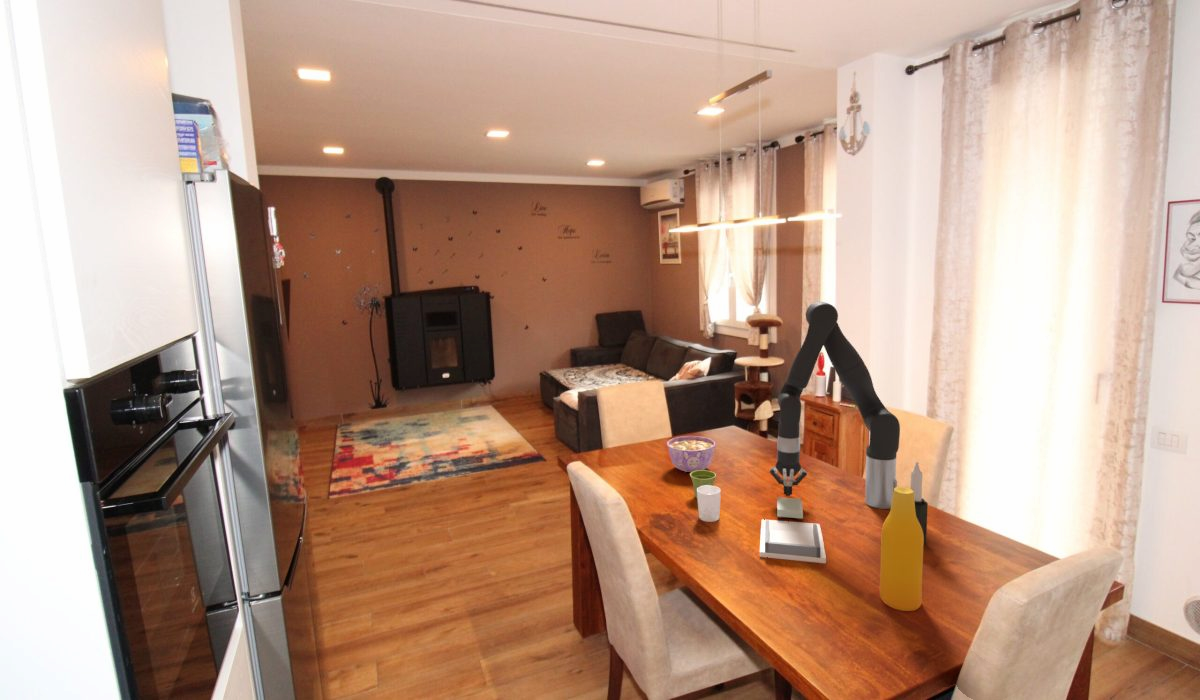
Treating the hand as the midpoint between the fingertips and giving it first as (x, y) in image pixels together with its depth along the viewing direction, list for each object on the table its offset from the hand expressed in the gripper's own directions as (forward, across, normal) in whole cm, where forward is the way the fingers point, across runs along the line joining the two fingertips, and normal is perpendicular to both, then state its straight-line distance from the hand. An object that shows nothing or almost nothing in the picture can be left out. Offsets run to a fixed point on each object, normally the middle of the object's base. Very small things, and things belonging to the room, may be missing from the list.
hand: (787, 495), depth 201 cm
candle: (+2, -35, +23) cm, 42 cm away
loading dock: (+2, 0, +28) cm, 29 cm away
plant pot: (+3, +30, +1) cm, 30 cm away
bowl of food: (+3, +38, -26) cm, 46 cm away
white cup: (+3, +26, +18) cm, 31 cm away
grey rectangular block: (+2, 0, +10) cm, 10 cm away
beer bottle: (+2, -25, +56) cm, 61 cm away
